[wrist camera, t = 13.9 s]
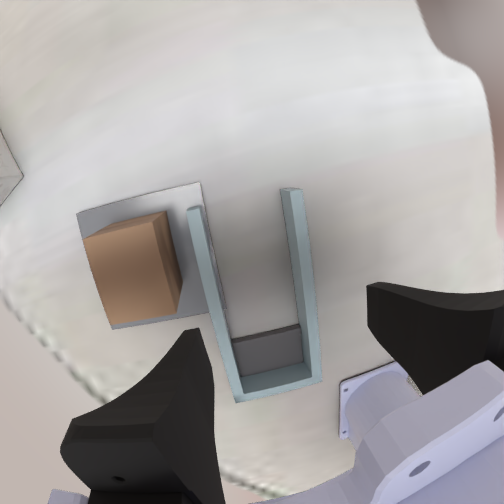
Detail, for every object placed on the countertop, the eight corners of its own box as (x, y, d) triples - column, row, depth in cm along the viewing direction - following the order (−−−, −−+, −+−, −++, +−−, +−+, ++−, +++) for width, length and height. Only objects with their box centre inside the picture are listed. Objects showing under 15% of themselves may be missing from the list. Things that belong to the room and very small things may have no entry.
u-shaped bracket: (312, 364, 24) (322, 381, 22) (232, 383, 23) (235, 403, 21) (291, 187, 20) (302, 189, 18) (188, 207, 19) (186, 211, 17)
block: (183, 281, 20) (176, 313, 15) (130, 292, 20) (110, 325, 15) (166, 210, 19) (152, 221, 14) (111, 223, 18) (82, 239, 13)
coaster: (226, 305, 22) (226, 308, 21) (114, 326, 21) (112, 329, 20) (199, 182, 19) (199, 182, 19) (79, 212, 18) (76, 213, 18)
